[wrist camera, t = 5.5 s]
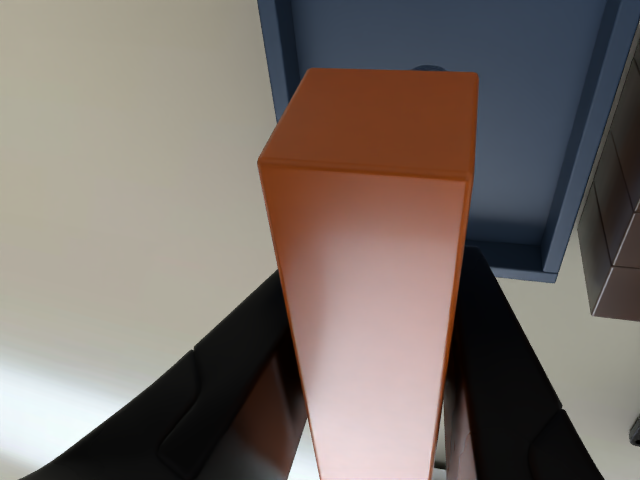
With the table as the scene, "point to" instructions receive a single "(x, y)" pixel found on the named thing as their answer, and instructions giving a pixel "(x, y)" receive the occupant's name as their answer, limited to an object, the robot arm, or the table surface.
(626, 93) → the rack
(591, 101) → the tray
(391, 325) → the t handle
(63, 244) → the table surface
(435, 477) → the teacup
